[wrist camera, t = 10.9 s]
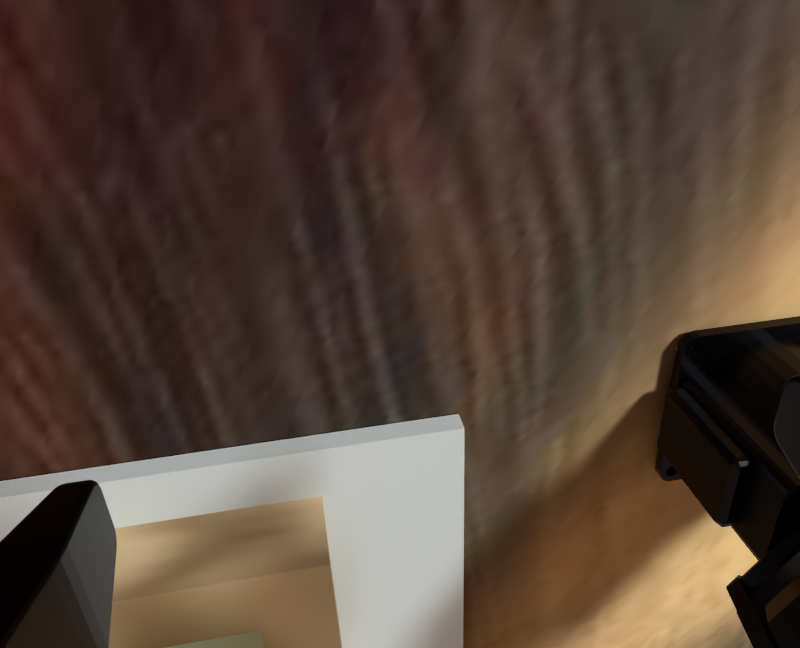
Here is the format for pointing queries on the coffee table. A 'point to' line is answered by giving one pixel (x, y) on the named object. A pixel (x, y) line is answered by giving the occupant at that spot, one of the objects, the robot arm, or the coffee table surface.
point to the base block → (227, 579)
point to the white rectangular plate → (343, 508)
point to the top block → (229, 642)
